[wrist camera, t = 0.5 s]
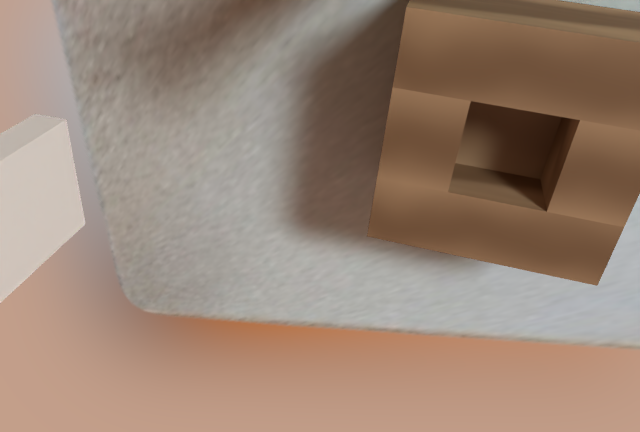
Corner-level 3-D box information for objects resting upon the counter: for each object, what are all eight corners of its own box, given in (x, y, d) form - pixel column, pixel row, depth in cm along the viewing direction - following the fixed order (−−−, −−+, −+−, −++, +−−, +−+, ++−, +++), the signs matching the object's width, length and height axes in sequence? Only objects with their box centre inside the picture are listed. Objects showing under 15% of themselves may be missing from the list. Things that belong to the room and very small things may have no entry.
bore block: (420, -20, 31) (406, 6, 25) (658, 14, 29) (704, 52, 23) (384, 177, 37) (366, 236, 31) (577, 216, 35) (597, 285, 29)
